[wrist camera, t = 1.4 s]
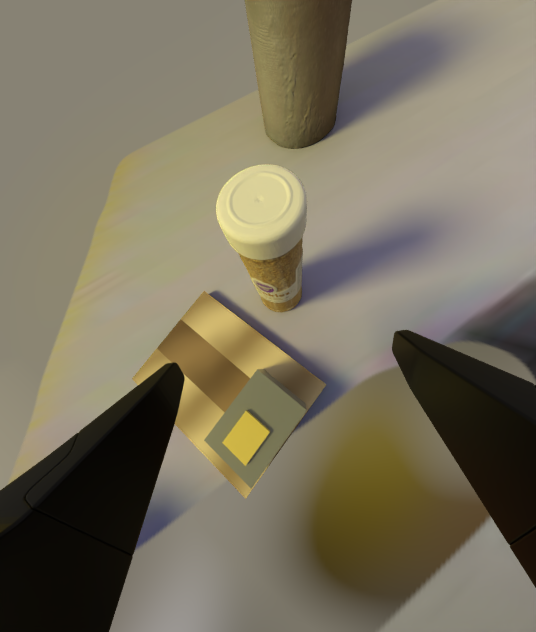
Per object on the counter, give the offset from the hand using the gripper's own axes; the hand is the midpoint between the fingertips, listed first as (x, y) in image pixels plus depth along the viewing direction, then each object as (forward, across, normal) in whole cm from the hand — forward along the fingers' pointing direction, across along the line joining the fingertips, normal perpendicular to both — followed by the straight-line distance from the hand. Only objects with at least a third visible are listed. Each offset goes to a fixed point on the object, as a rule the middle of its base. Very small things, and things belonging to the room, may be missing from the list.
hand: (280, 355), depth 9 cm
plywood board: (+8, +7, +10) cm, 15 cm away
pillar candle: (+32, -6, -13) cm, 35 cm away
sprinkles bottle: (+14, 0, +4) cm, 15 cm away
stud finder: (+6, +4, +12) cm, 14 cm away
